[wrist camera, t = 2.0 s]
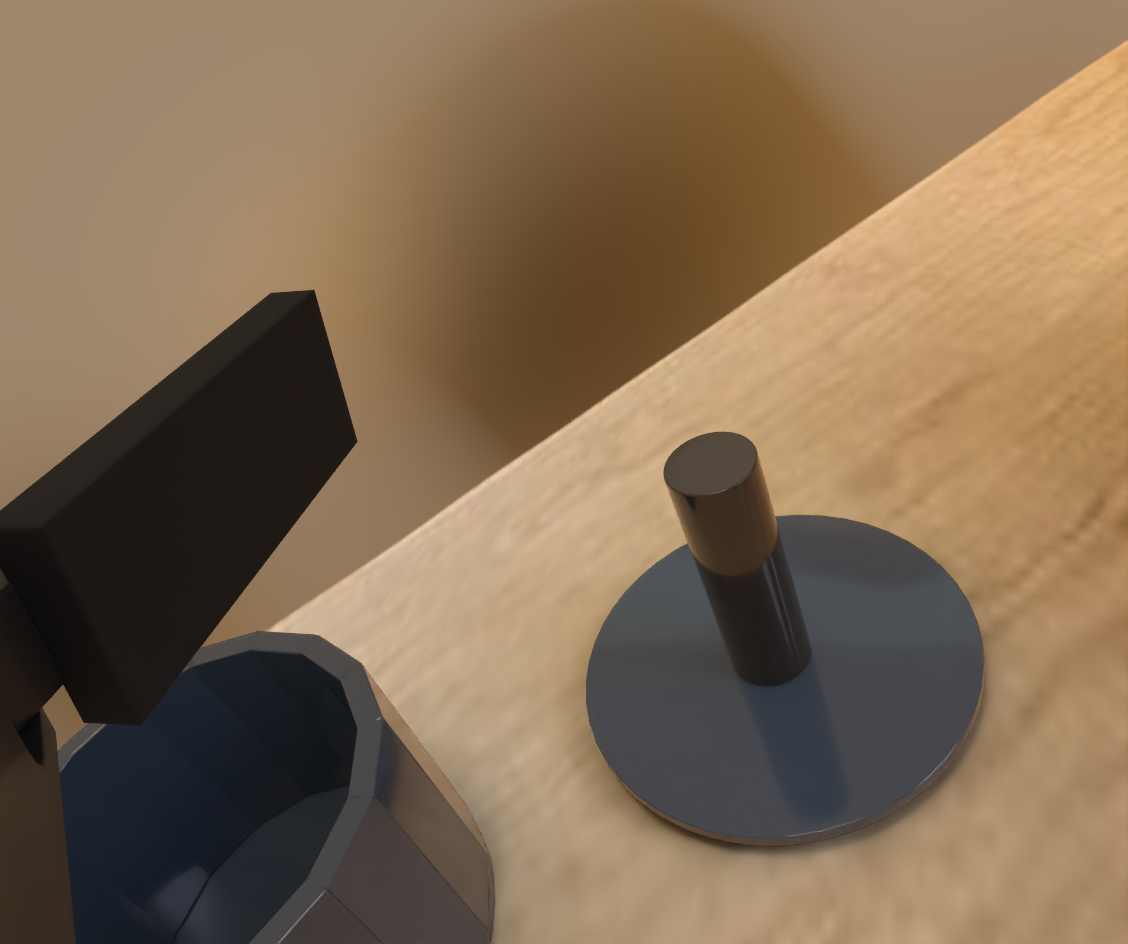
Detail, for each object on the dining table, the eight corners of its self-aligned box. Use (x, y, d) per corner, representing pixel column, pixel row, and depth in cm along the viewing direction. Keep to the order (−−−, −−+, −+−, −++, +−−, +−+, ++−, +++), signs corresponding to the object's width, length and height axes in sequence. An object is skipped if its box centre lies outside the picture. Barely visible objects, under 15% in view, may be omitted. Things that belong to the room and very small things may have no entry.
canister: (428, 715, 38) (325, 571, 33) (555, 999, 28) (437, 856, 23) (136, 895, 36) (-20, 773, 31) (163, 1268, 26) (-61, 1179, 21)
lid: (814, 485, 40) (766, 281, 34) (1085, 692, 30) (1084, 448, 23) (538, 656, 38) (435, 472, 32) (721, 946, 28) (619, 751, 21)
